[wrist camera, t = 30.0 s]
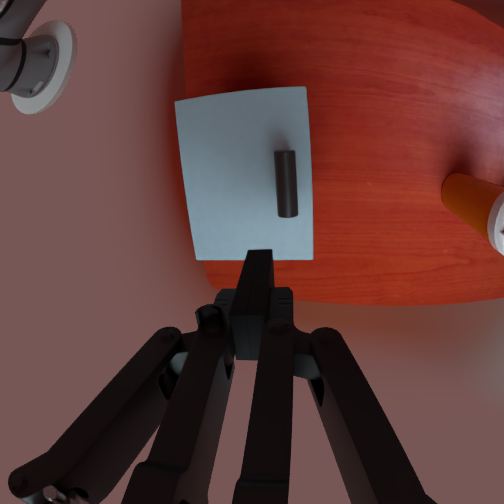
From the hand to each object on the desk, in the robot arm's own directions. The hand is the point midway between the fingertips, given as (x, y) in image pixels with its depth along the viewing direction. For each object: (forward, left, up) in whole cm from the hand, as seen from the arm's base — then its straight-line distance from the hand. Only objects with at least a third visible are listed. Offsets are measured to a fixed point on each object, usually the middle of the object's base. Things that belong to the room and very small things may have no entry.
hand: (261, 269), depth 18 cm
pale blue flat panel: (-4, +2, -10) cm, 11 cm away
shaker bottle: (+26, +20, -29) cm, 43 cm away
